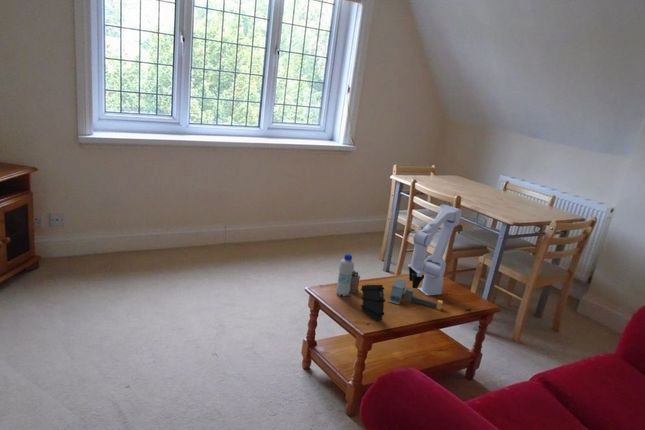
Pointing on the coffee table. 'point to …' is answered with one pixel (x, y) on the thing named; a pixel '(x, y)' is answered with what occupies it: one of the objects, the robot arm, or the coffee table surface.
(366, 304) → the black ribbed block
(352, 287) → the lighter
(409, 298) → the plug
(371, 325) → the coffee table surface
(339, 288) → the bottle
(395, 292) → the housing
